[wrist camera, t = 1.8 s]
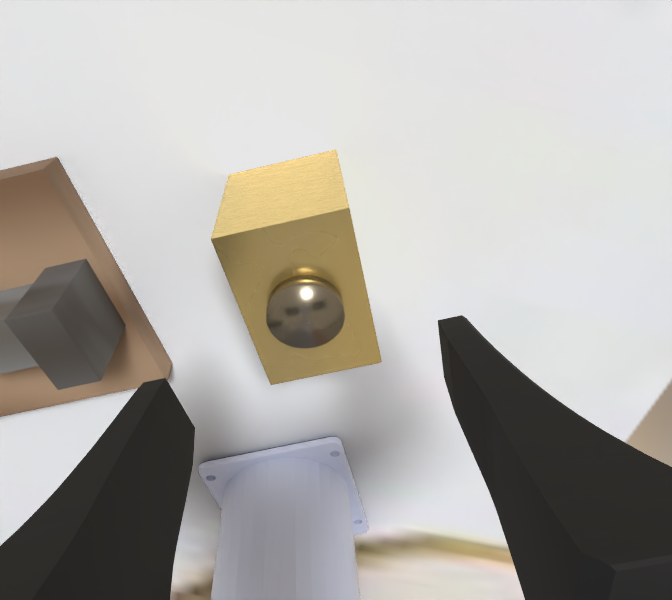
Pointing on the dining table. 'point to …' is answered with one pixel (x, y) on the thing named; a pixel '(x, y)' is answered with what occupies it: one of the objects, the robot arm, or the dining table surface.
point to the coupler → (296, 268)
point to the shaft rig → (64, 300)
